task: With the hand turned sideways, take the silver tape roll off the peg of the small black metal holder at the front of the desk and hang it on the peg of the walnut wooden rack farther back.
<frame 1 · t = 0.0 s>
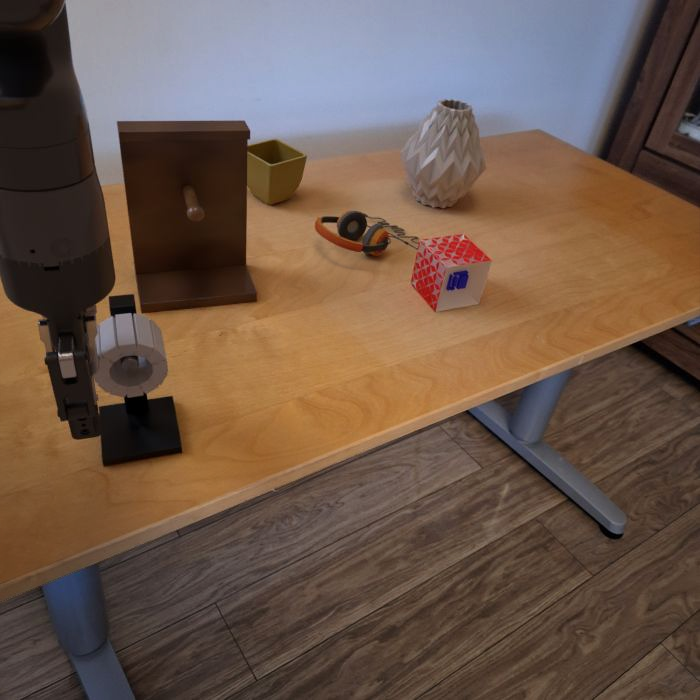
hand: (86, 399, 53), 13 cm above the table, tool pointing down, fingers open, 8 cm apart
vase: (433, 200, 123), on the table
rack: (195, 287, 90), on the table
headphones: (366, 246, 106), on the table
red patterned cube: (443, 294, 97), on the table
tape: (129, 355, 60), point 12 cm above the table, touching gripper, holder
holder: (140, 432, 68), on the table
flower pot: (271, 198, 115), on the table
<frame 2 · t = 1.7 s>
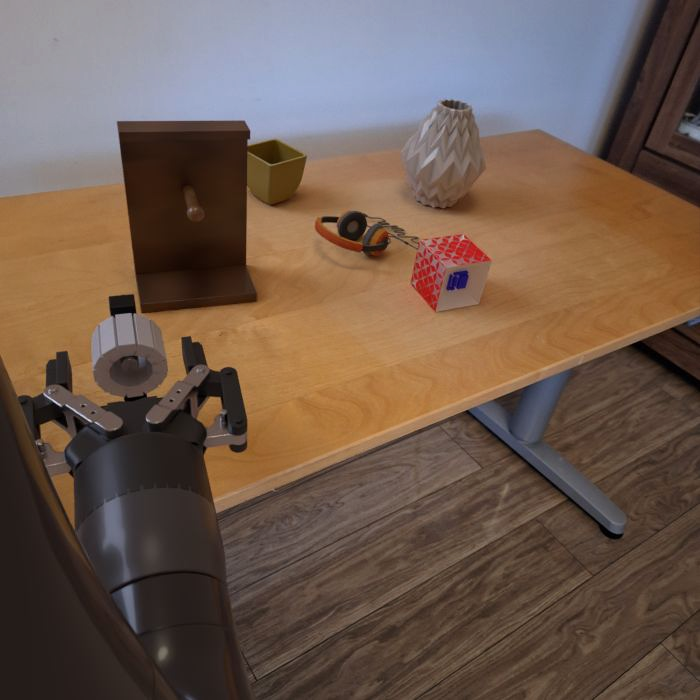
hand: (126, 352, 46), 22 cm above the table, tool horizontal, fingers open, 8 cm apart
tape: (129, 355, 60), point 12 cm above the table, touching holder
everything else where it was.
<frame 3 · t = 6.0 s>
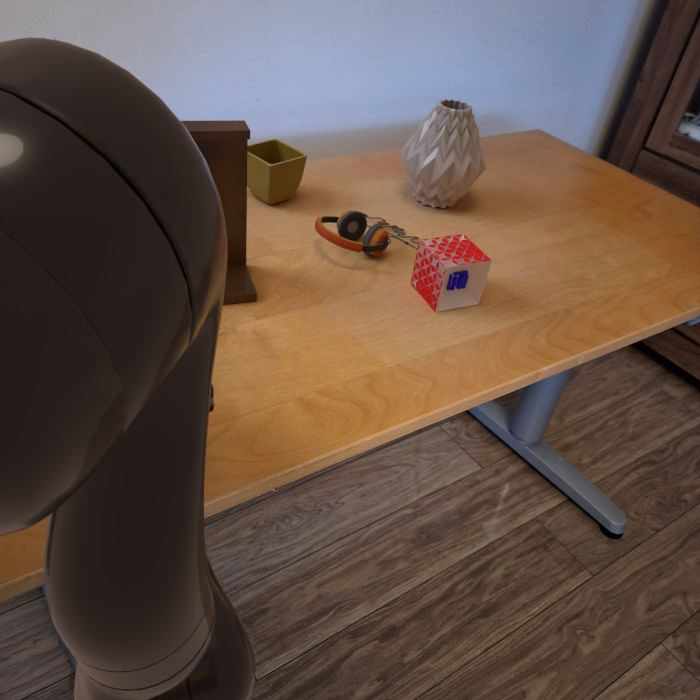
hand: (127, 341, 61), 12 cm above the table, tool horizontal, fingers closed on tape, 6 cm apart
tape: (129, 355, 60), point 12 cm above the table, touching gripper, holder
everything else where it was.
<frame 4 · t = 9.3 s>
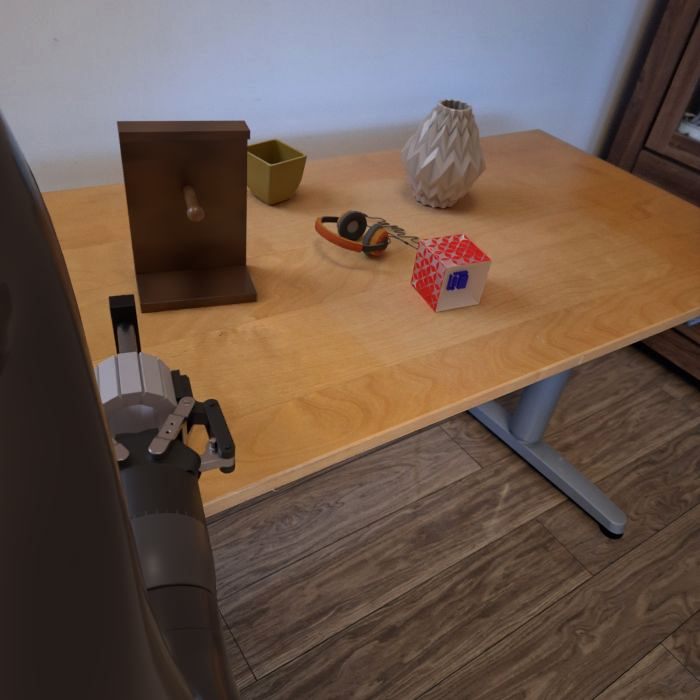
hand: (131, 383, 52), 15 cm above the table, tool horizontal, fingers closed on tape, 6 cm apart
tape: (133, 401, 50), point 15 cm above the table, touching gripper
everything else where it was.
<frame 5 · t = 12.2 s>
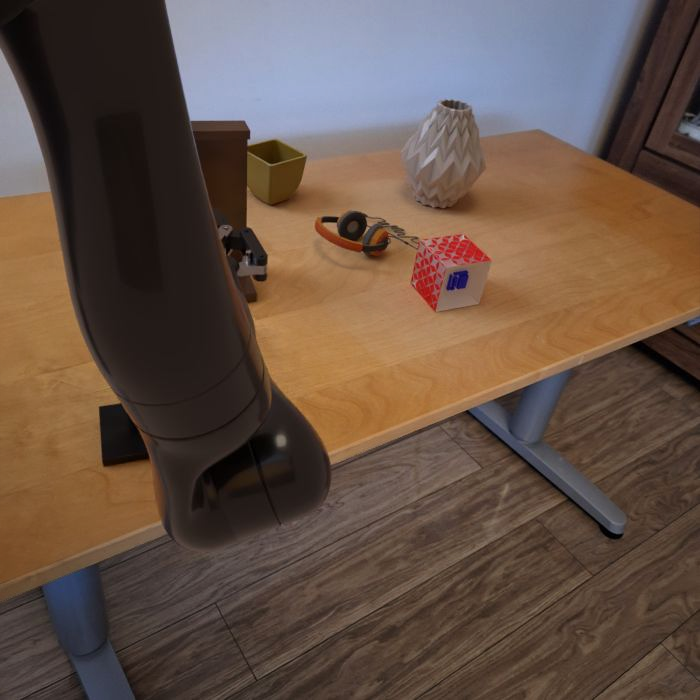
hand: (177, 219, 61), 22 cm above the table, tool horizontal, fingers closed on tape, 6 cm apart
tape: (180, 230, 60), point 22 cm above the table, touching gripper
everything else where it was.
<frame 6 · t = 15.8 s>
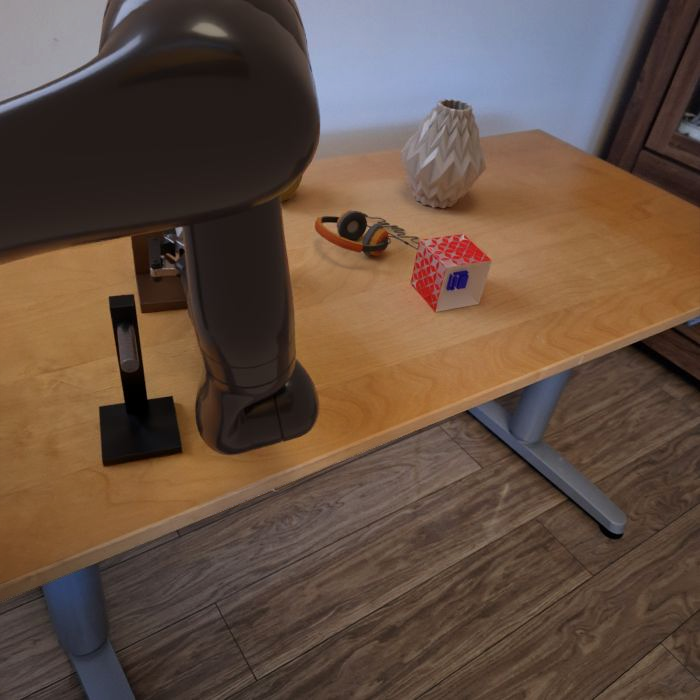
hand: (199, 224, 77), 14 cm above the table, tool horizontal, fingers closed on tape, 6 cm apart
tape: (202, 233, 76), point 14 cm above the table, touching gripper
everything else where it was.
when the fingers open (13 cm above the table, at t = 18.6 s): tape stays where it is, resting on rack.
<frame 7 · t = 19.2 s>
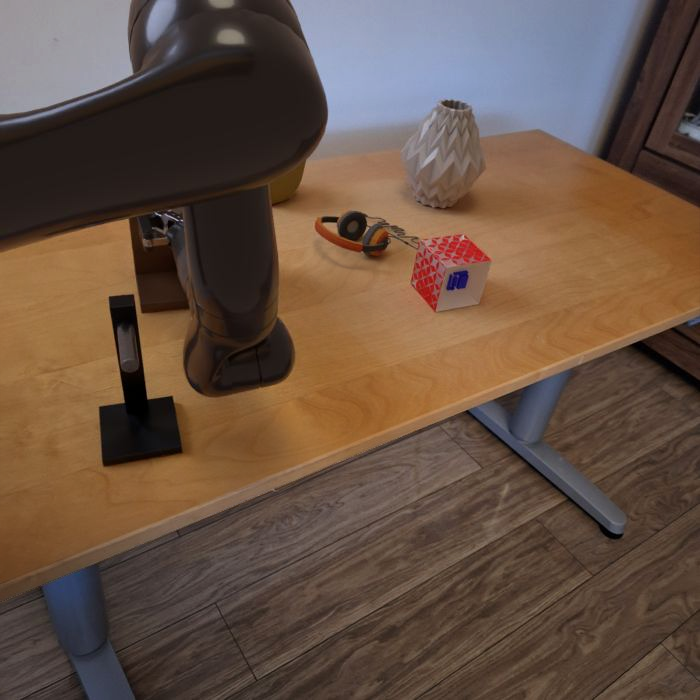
hand: (190, 200, 83), 13 cm above the table, tool horizontal, fingers open, 8 cm apart
tape: (192, 209, 82), point 13 cm above the table, touching rack
everything else where it was.
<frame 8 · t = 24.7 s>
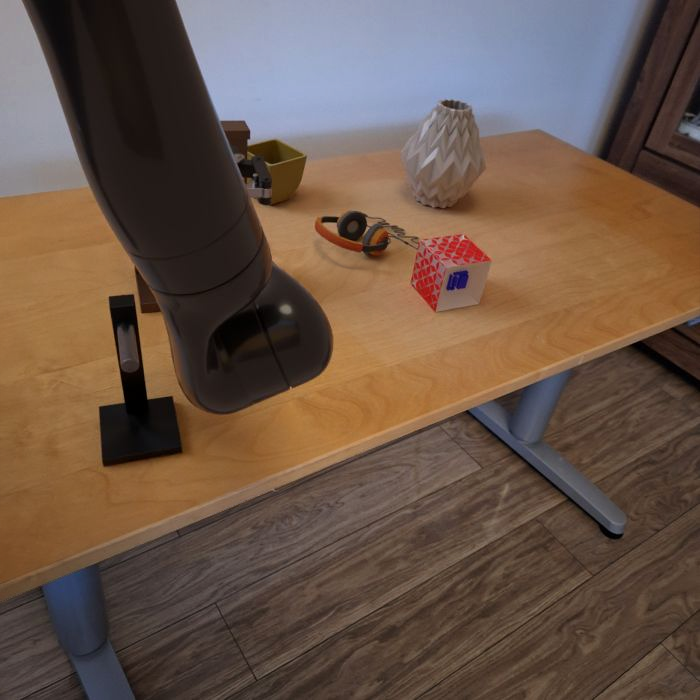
hand: (184, 151, 64), 26 cm above the table, tool horizontal, fingers open, 8 cm apart
nothing on the table moved.
at the end: tape 0.4 cm from the target spot on the rack, point 12.9 cm above the rack's base; the gripper is holding nothing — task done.
